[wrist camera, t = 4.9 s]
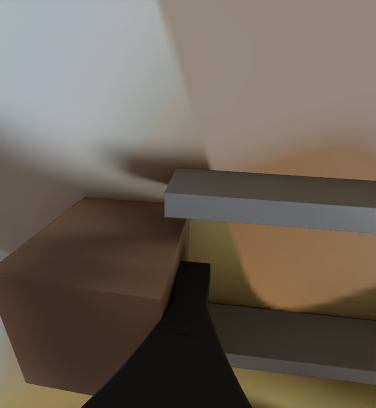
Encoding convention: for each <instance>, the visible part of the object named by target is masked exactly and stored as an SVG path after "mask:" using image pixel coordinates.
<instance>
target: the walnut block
mask: <svg viewBox="0 0 376 408" xmlns="http://www.w3.org/2000/svg"><path fill="white" fill-rule="evenodd" d="M188 235H189V219H186V218H174V217H165V204H157V203H147V202H137V201H127V200H115V199H103V198H91V197H84V198H83V199H81V200H80V201H79V202H78V203H76V204H75V205H74V206H72V207H71V208H70V209H68V210H67V211H66V212H65V213H63V214H62V215H61V216H59V217H58V218H57V219H56V220H54V221H53V222H52V223H50V224H49V225H48V226H47V227H45V228H44V229H43V230H41V231H40V232H39V233H38V234H36V235H35V236H34V237H32V238H31V239H30V240H28V241H27V242H26V243H25V244H23V245H22V246H21V247H19V248H18V249H17V250H16V251H14V252H13V253H12V254H10V255H9V256H8V257H7V258H5V259H4V260H3V261H1V262H0V315H1V318H2V321H3V323H4V326H5V329H6V331H7V334H8V337H9V339H10V342H11V344H12V347H13V350H14V352H15V355H16V358H17V360H18V363H19V366H20V368H21V371H22V373H23V376H24V379H25V381H26V383H29V384H35V385H40V386H45V387H50V388H56V389H61V390H66V391H71V392H76V393H82V394H87V395H92V396H93V395H95V394H96V393H97V392H98V391H99V390H100V389H101V388H102V387H103V386H104V385H105V384H106V383H107V382H108V381H109V380H110V379H111V377H112V376H113V375H114V374H115V373H116V372H117V371H118V370H119V369H120V368H121V367H122V366H123V364H124V363H125V362H126V361H127V360H128V359H129V358H130V357H131V355H132V354H133V353H134V352H135V351H136V350H137V348H138V347H139V346H140V345H141V344H142V342H143V341H144V340H145V339H146V337H147V336H148V335H149V334H150V332H151V331H152V330H153V328H154V327H155V326H156V324H157V323H158V322H159V321H161V319H162V317H163V314H164V313H165V311H166V310H167V309H168V307H169V306H170V304H171V302H172V301H173V299H174V292H175V282H176V273H177V270H178V267H179V265H180V262H181V261H187V254H188Z"/></svg>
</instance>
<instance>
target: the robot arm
mask: <svg viewBox="0 0 376 408" xmlns="http://www.w3.org/2000/svg"><path fill="white" fill-rule="evenodd" d="M209 285H210V264H208V263H198V262H187V261H181V262H180V265H179V267H178V270H177V273H176V282H175V292H174V299H173V301H172V302H171V304H170V306H169V307H168V309H167V310H166V311H165V313H164V314H163V317H162V319H161V321H159V322H158V323H157V324H156V326H155V327H154V328H153V330H152V331H151V332H150V334H149V335H148V336H147V337H146V339H145V340H144V341H143V342H142V344H141V345H140V346H139V347H138V348H137V350H136V351H135V352H134V353H133V354H132V355H131V357H130V358H129V359H128V360H127V361H126V362H125V363H124V364H123V366H122V367H121V368H120V369H119V370H118V371H117V372H116V373H115V374H114V375H113V376H112V377H111V379H110V380H109V381H108V382H107V383H106V384H105V385H104V386H103V387H102V388H101V389H100V390H99V391H98V392H97V393H96V394H95V395H93V396H92V397H91V398H90V399H89V400H88V401H87V402H86V403H85V404H84V405H83V406H82V407H81V408H252V407H251V405H250V403H249V401H248V399H247V397H246V396H245V394H244V392H243V390H242V388H241V386H240V384H239V382H238V380H237V378H236V376H235V374H234V372H233V370H232V368H231V366H230V364H229V361H228V359H227V357H226V355H225V353H224V350H223V348H222V346H221V343H220V341H219V338H218V336H217V333H216V331H215V328H214V325H213V322H212V320H211V317H210V314H209V311H208V307H207V306H208V296H209Z"/></svg>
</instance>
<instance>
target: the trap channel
mask: <svg viewBox="0 0 376 408" xmlns="http://www.w3.org/2000/svg"><path fill="white" fill-rule="evenodd" d="M164 203H165V217H174V218H186V219H199V220H211V221H223V222H236V223H249V224H261V225H273V226H285V227H298V228H310V229H311V228H312V229H322V230H335V231H348V232H360V233H372V234H376V181H368V180H353V179H336V178H321V177H307V176H291V175H275V174H261V173H260V174H259V173H245V172H229V171H215V170H199V169H184V168H176V170H175V172H174V174H173V176H172V178H171V181H170V183H169V185H168V187H167V189H166V191H165V193H164ZM207 307H208V311H209V314H210V317H211V320H212V322H213V325H214V328H215V331H216V333H217V336H218V338H219V341H220V343H221V346H222V348H223V350H224V353H225V355H226V357H227V359H228V361H229V364H230V366H231V367H236V368H244V369H252V370H260V371H268V372H276V373H284V374H292V375H300V376H308V377H316V378H324V379H332V380H340V381H348V382H356V383H364V384H372V385H376V321H371V320H361V319H352V318H342V317H333V316H324V315H314V314H305V313H295V312H286V311H277V310H267V309H258V308H248V307H239V306H230V305H220V304H211V303H208V306H207Z"/></svg>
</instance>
